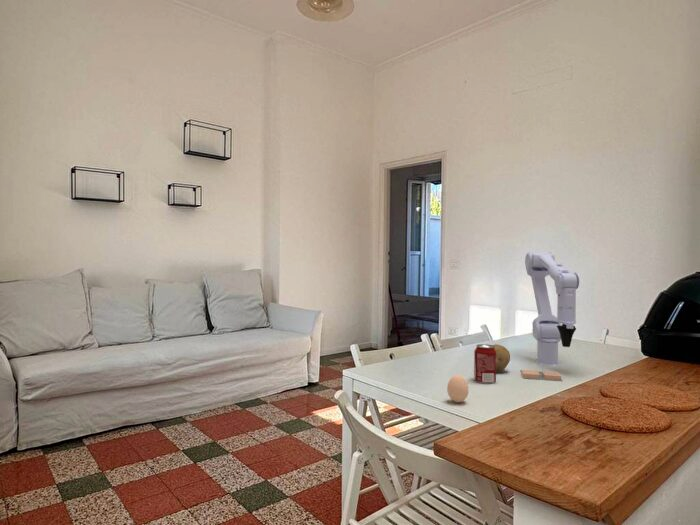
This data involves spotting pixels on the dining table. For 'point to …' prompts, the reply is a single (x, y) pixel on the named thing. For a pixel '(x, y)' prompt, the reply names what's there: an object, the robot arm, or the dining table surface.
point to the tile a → (530, 374)
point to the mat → (540, 377)
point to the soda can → (485, 364)
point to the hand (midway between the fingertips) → (566, 346)
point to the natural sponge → (501, 357)
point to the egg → (457, 388)
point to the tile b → (551, 375)
